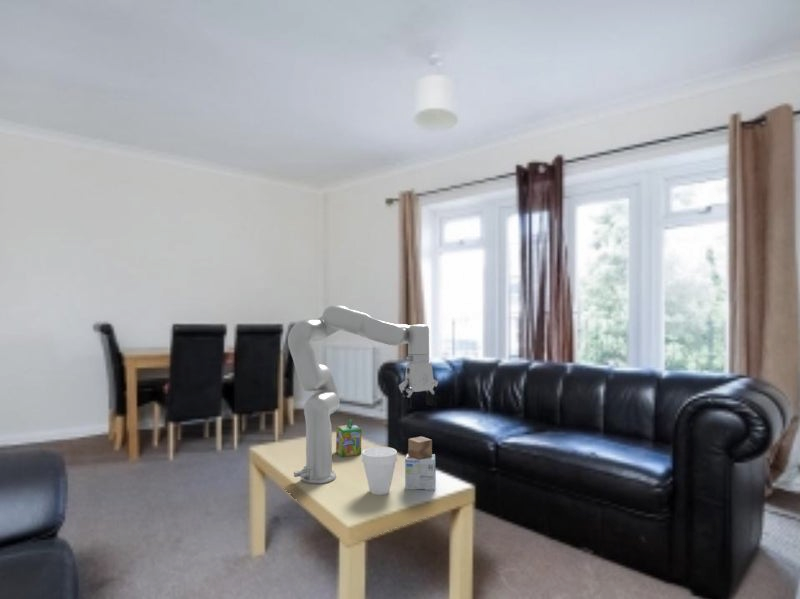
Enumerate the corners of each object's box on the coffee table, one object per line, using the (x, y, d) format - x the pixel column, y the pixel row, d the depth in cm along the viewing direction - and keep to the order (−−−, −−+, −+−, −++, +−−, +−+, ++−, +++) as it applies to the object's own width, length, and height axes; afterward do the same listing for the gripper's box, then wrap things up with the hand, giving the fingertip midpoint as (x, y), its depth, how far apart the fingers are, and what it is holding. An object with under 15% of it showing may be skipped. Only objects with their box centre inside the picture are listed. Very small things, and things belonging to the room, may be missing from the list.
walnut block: (418, 459, 162) (418, 442, 162) (408, 455, 167) (408, 438, 167) (432, 456, 165) (431, 439, 166) (421, 452, 170) (421, 436, 171)
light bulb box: (435, 483, 169) (435, 453, 169) (435, 490, 162) (435, 459, 162) (406, 482, 170) (406, 453, 170) (404, 489, 163) (404, 458, 163)
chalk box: (335, 452, 209) (335, 418, 210) (355, 449, 213) (354, 416, 214) (342, 457, 201) (341, 423, 201) (362, 454, 205) (361, 420, 205)
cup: (378, 482, 170) (378, 444, 171) (404, 490, 163) (404, 450, 163) (354, 492, 161) (354, 452, 161) (381, 500, 153) (380, 459, 154)
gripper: (405, 361, 160) (406, 411, 159) (443, 358, 170) (444, 405, 169) (393, 359, 166) (393, 407, 165) (430, 356, 176) (430, 402, 175)
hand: (419, 406), depth 167 cm, fingers open, 9 cm apart
